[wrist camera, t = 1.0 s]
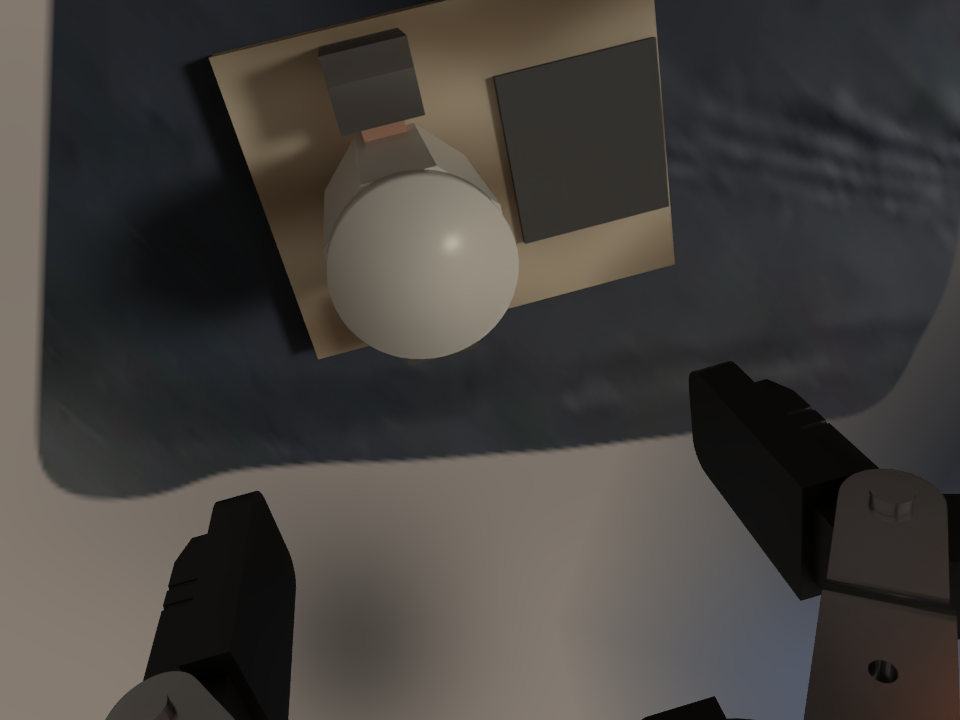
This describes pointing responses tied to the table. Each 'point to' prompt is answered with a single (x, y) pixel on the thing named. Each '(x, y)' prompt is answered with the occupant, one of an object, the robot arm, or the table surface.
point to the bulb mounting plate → (437, 109)
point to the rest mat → (585, 139)
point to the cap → (415, 245)
